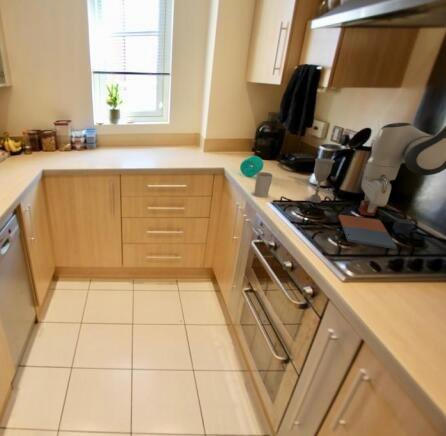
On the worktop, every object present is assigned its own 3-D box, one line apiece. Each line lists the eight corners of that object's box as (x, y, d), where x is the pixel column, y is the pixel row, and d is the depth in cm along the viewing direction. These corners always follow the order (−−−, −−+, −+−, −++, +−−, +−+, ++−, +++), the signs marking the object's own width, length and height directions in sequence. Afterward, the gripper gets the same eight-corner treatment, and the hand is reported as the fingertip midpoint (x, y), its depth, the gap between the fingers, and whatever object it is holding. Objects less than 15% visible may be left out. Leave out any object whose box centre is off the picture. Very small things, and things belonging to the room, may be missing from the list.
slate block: (406, 230, 112) (410, 219, 111) (409, 234, 109) (413, 224, 107) (392, 228, 114) (395, 218, 112) (395, 232, 111) (399, 222, 109)
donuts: (238, 175, 175) (240, 157, 171) (244, 171, 182) (247, 154, 178) (256, 178, 169) (259, 160, 165) (262, 174, 176) (265, 156, 172)
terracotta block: (371, 212, 115) (375, 201, 113) (374, 216, 112) (378, 205, 110) (358, 210, 117) (362, 200, 115) (360, 214, 113) (364, 204, 112)
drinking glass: (269, 193, 148) (273, 173, 144) (267, 198, 143) (272, 177, 138) (253, 191, 151) (257, 171, 147) (252, 196, 145) (255, 175, 141)
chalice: (302, 199, 141) (311, 159, 133) (311, 196, 144) (321, 157, 136) (317, 204, 135) (328, 163, 127) (327, 201, 138) (338, 161, 130)
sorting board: (379, 222, 118) (380, 219, 118) (396, 249, 100) (397, 246, 100) (338, 216, 123) (339, 214, 123) (347, 241, 105) (348, 238, 105)
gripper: (401, 181, 98) (386, 221, 104) (384, 165, 115) (372, 200, 120) (376, 179, 100) (363, 218, 106) (363, 163, 117) (352, 198, 123)
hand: (367, 209), depth 113 cm, fingers closed on terracotta block, 4 cm apart
